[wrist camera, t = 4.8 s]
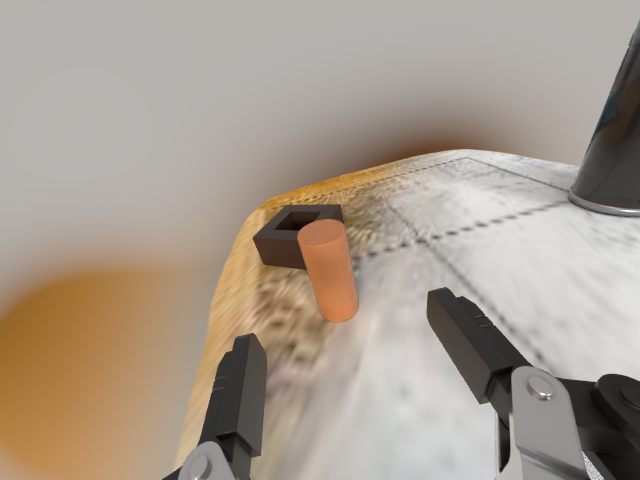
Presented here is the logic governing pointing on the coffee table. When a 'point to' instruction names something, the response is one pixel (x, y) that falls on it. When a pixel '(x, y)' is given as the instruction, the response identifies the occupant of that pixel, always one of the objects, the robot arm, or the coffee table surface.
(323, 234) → the orange cylinder
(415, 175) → the coffee table surface
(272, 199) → the coffee table surface
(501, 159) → the coffee table surface
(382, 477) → the coffee table surface
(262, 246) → the dark square open box
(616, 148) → the robot arm
